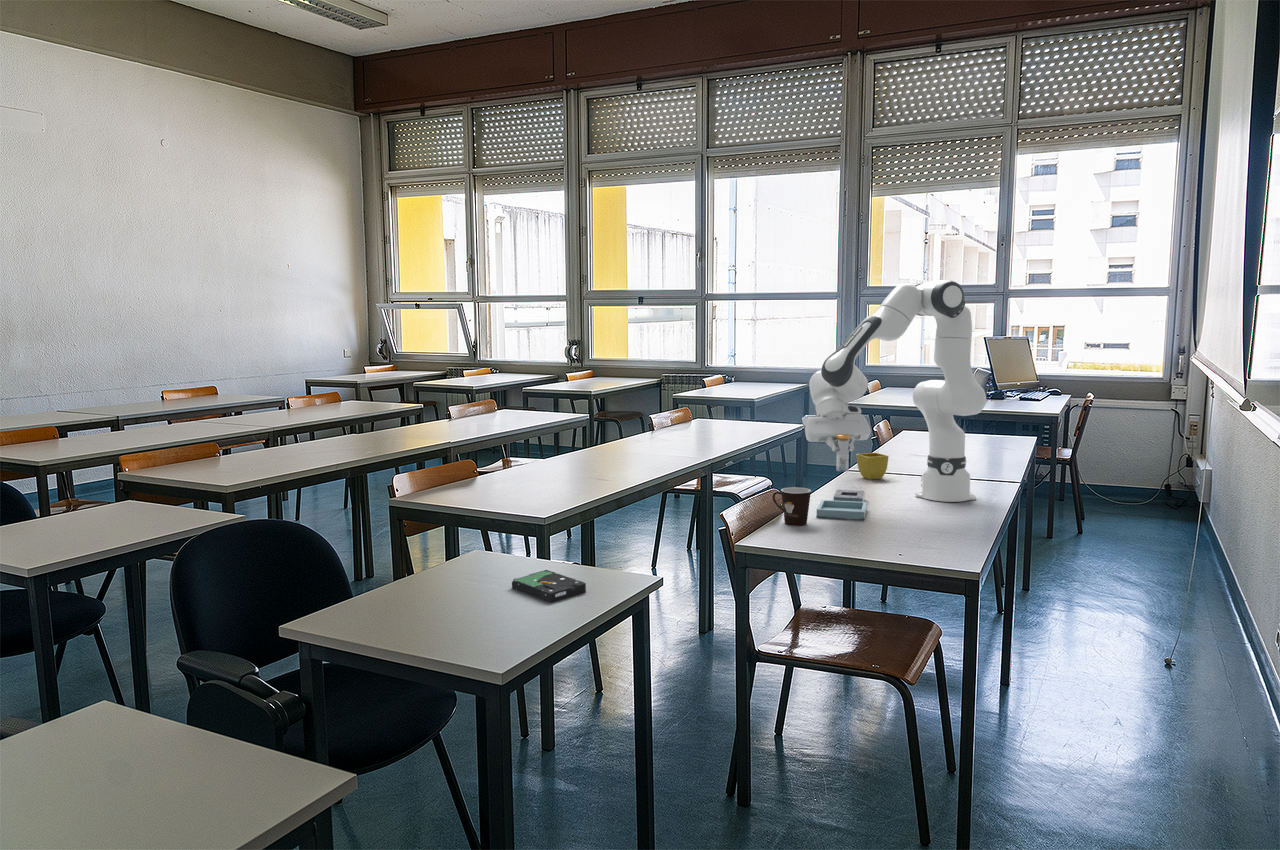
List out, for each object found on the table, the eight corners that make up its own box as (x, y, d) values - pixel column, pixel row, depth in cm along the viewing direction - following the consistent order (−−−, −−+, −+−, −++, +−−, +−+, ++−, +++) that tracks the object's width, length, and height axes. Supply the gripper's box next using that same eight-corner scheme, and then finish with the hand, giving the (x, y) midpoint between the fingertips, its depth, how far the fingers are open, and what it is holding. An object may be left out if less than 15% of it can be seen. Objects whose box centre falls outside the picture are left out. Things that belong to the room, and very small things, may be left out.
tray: (821, 507, 270) (821, 499, 270) (866, 509, 266) (866, 502, 266) (816, 517, 257) (816, 509, 257) (864, 520, 253) (864, 512, 252)
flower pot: (855, 477, 320) (855, 453, 319) (875, 475, 323) (875, 452, 321) (868, 481, 312) (868, 457, 311) (888, 479, 314) (889, 455, 313)
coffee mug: (816, 525, 248) (816, 491, 246) (790, 528, 244) (791, 494, 243) (794, 516, 258) (795, 484, 257) (770, 519, 255) (770, 487, 254)
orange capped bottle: (836, 469, 262) (836, 433, 261) (849, 469, 261) (850, 434, 260) (835, 471, 258) (835, 435, 257) (848, 471, 257) (849, 436, 256)
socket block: (836, 498, 283) (836, 489, 283) (864, 499, 280) (864, 490, 280) (833, 506, 272) (833, 496, 272) (862, 507, 269) (862, 498, 269)
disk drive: (587, 594, 191) (546, 580, 201) (587, 582, 190) (546, 568, 201) (550, 605, 183) (510, 590, 194) (550, 593, 183) (510, 578, 194)
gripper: (802, 409, 263) (813, 445, 254) (865, 407, 266) (878, 442, 257) (797, 422, 268) (808, 457, 259) (859, 420, 271) (871, 455, 262)
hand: (843, 450), depth 258 cm, fingers closed on orange capped bottle, 4 cm apart
